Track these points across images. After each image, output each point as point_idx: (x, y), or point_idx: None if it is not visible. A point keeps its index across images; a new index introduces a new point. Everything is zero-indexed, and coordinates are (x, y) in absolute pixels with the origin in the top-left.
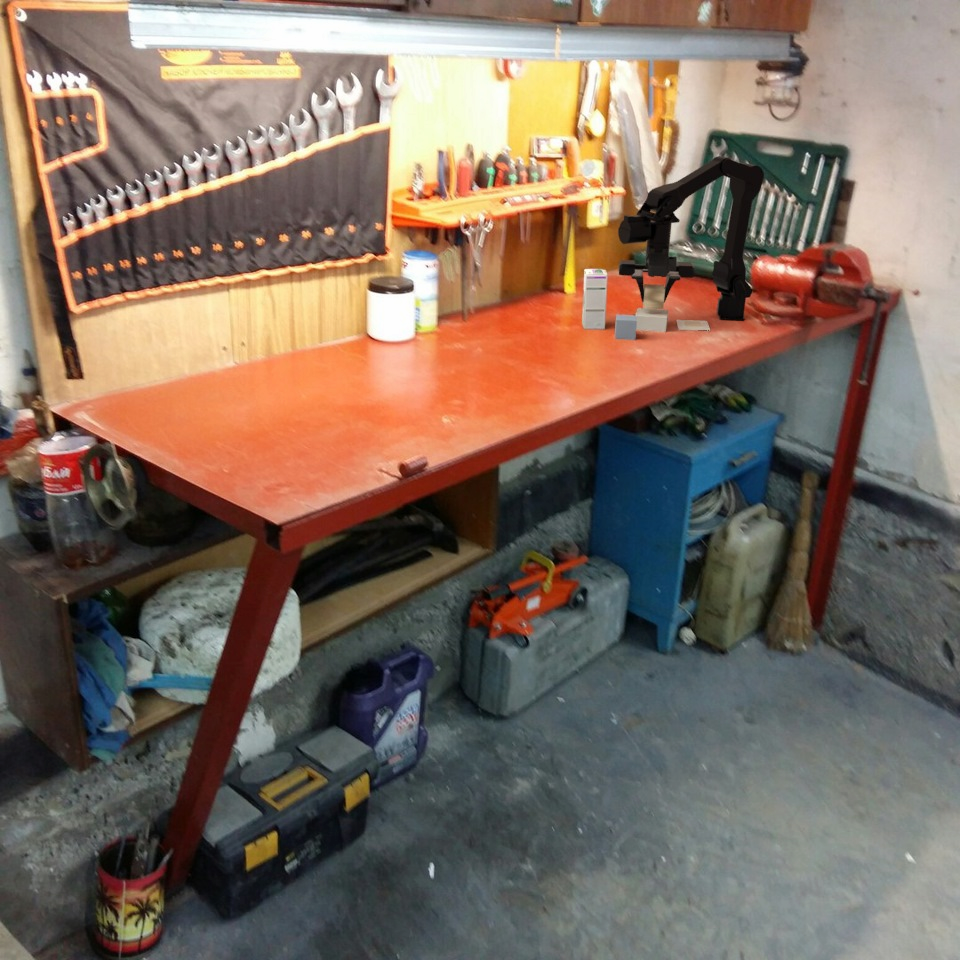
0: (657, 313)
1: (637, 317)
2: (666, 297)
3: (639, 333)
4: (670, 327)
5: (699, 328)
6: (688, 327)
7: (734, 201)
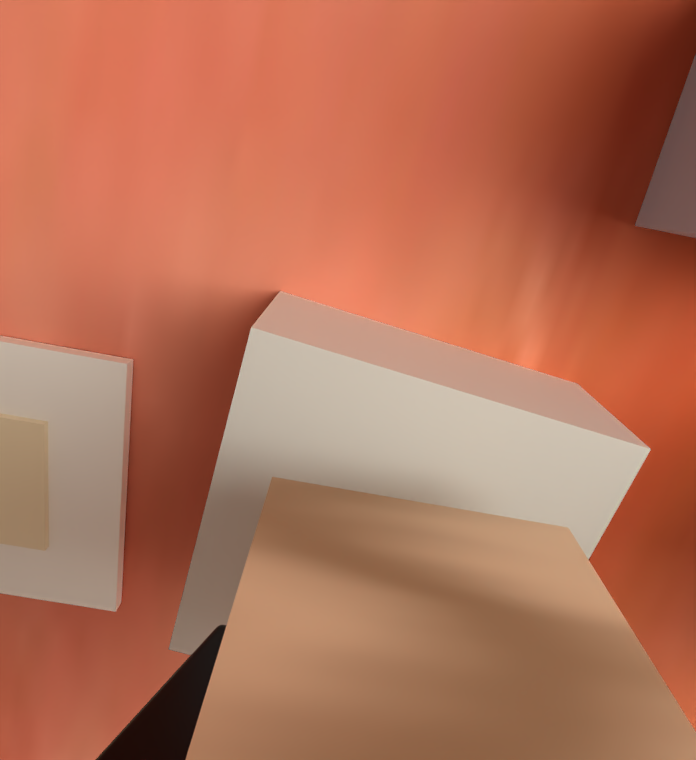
0: None
1: (612, 431)
2: (169, 684)
3: (569, 253)
4: (200, 438)
5: None
6: (25, 385)
7: None
